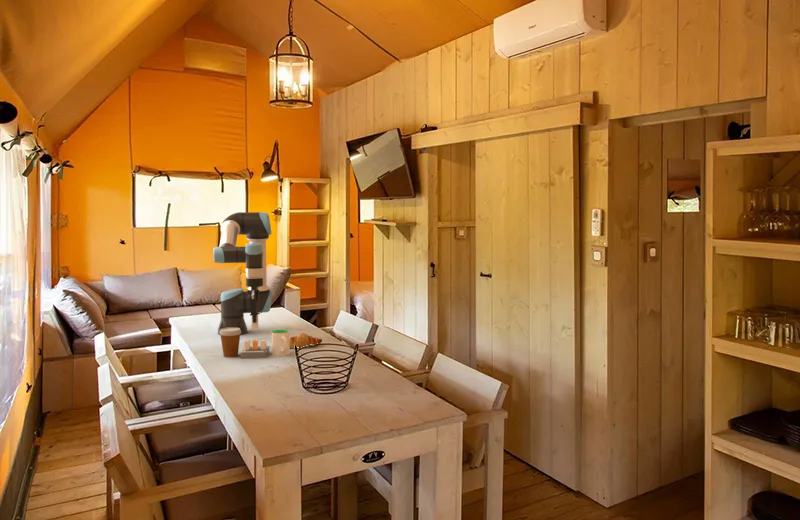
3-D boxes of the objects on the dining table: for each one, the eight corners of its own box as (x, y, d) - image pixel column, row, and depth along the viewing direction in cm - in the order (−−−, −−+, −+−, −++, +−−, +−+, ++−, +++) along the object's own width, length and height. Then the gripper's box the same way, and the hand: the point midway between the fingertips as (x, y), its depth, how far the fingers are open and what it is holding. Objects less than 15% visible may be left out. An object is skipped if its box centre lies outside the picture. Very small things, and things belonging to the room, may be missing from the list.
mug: (295, 356, 267) (295, 333, 266) (278, 358, 263) (278, 335, 262) (286, 350, 277) (285, 328, 276) (269, 352, 273) (269, 330, 272)
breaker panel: (245, 352, 274) (245, 346, 274) (269, 351, 275) (269, 345, 275) (240, 358, 262) (240, 352, 262) (266, 358, 264) (266, 351, 263)
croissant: (279, 356, 280) (280, 343, 276) (276, 343, 288) (277, 330, 284) (323, 352, 287) (324, 339, 283) (319, 339, 295) (320, 326, 291)
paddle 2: (253, 348, 270) (253, 339, 270) (258, 348, 270) (258, 339, 270) (252, 349, 267) (252, 341, 267) (257, 349, 267) (257, 341, 267)
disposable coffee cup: (235, 358, 262) (235, 331, 261) (215, 357, 264) (215, 330, 263) (245, 353, 272) (244, 327, 271) (226, 352, 273) (225, 326, 272)
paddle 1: (245, 348, 270) (245, 339, 269) (250, 348, 270) (250, 339, 270) (244, 350, 267) (244, 341, 266) (249, 349, 267) (249, 341, 267)
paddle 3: (261, 348, 270) (261, 339, 270) (265, 348, 271) (265, 339, 270) (260, 349, 268) (260, 341, 267) (265, 349, 268) (265, 341, 267)
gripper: (248, 276, 272) (248, 326, 274) (243, 279, 259) (244, 332, 261) (264, 275, 273) (265, 326, 275) (260, 279, 260) (261, 332, 262)
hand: (255, 329), depth 268 cm, fingers closed
